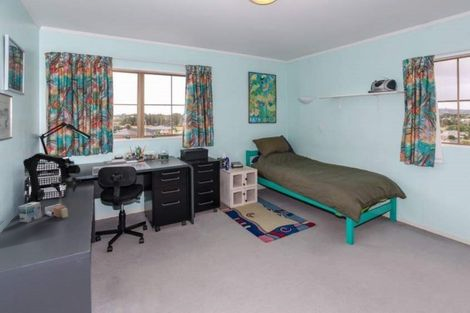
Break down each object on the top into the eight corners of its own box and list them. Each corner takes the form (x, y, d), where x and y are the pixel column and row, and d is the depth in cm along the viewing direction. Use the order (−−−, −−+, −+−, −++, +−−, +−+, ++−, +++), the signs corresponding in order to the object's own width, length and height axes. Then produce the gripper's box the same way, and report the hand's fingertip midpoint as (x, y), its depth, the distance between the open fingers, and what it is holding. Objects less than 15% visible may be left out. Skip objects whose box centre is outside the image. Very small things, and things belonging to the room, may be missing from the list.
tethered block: (54, 215, 190) (53, 207, 189) (63, 213, 195) (62, 205, 194) (61, 218, 184) (60, 210, 183) (70, 216, 189) (69, 208, 188)
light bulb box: (28, 222, 178) (26, 207, 176) (19, 221, 179) (17, 206, 177) (42, 216, 188) (40, 202, 186) (34, 216, 189) (32, 201, 188)
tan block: (45, 213, 193) (44, 207, 192) (61, 209, 202) (60, 203, 201) (50, 216, 189) (49, 209, 188) (65, 211, 198) (65, 205, 197)
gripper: (55, 177, 186) (58, 198, 188) (83, 172, 201) (85, 192, 203) (49, 175, 192) (51, 196, 194) (76, 171, 207) (78, 190, 209)
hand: (67, 193), depth 200 cm, fingers open, 9 cm apart
